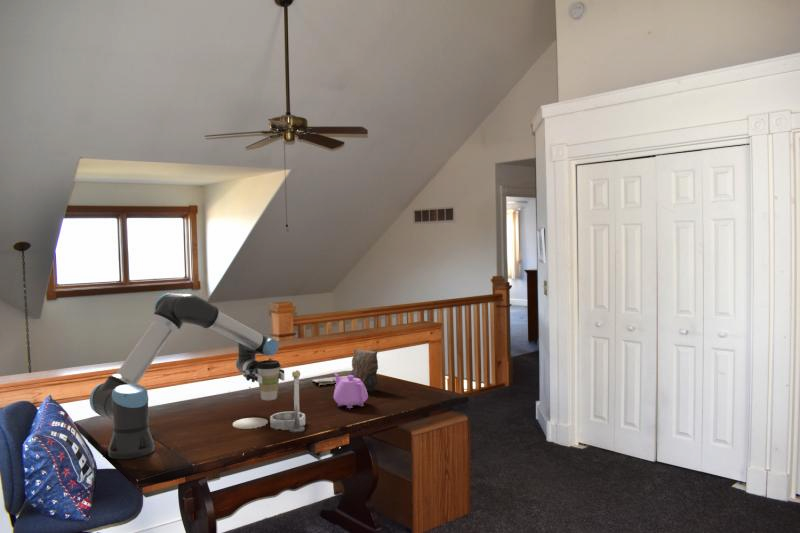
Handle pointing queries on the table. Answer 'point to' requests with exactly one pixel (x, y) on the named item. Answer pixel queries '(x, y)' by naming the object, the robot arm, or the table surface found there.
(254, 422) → the cream pad
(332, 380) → the newspaper
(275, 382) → the coffee cup
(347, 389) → the teapot
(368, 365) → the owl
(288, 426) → the ring stand
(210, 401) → the table surface
